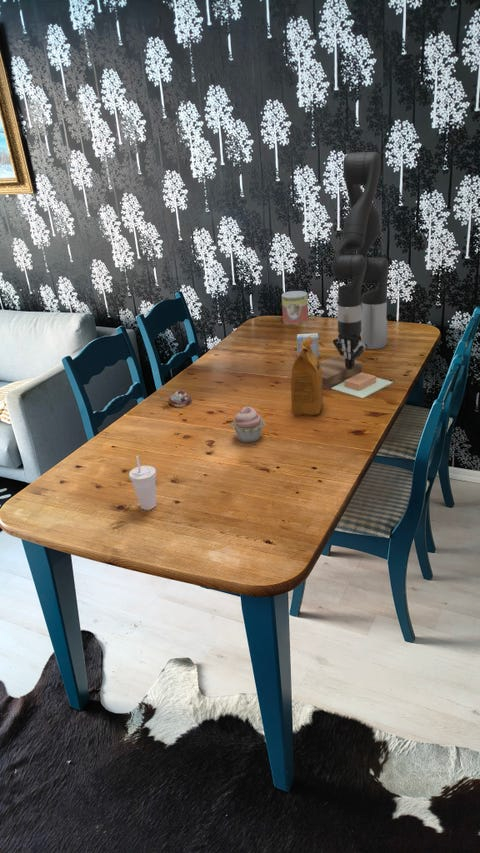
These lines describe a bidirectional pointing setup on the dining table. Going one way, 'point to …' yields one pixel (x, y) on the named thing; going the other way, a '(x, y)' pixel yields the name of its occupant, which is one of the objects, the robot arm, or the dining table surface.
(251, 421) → the cupcake
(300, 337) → the medicine box
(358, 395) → the mat
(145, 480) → the smoothie
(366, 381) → the pink rectangular block
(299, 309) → the canned food
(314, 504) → the dining table surface
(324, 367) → the deck
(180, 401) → the pastry
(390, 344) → the dining table surface
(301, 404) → the coffee package
